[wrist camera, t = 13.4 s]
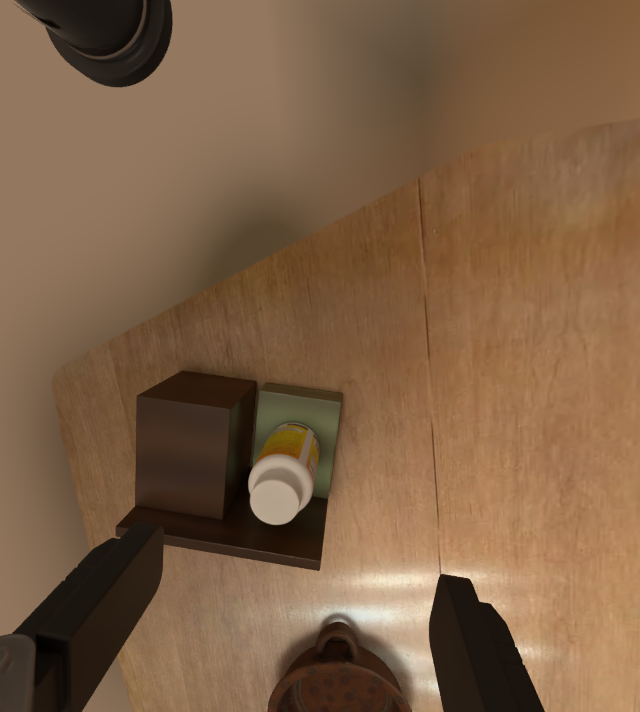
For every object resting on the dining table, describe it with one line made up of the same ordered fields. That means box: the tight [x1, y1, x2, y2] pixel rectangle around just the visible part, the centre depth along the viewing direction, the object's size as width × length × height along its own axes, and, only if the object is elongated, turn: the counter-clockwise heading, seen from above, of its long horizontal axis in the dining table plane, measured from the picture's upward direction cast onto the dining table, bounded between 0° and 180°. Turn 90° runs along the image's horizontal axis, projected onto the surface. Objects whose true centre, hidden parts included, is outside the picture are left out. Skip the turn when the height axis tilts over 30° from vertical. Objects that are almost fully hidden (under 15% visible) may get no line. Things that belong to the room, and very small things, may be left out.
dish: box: [268, 622, 412, 712], centre depth 47 cm, size 18×22×5 cm
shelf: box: [116, 371, 342, 571], centre depth 37 cm, size 12×18×12 cm, turn 83°
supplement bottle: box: [248, 423, 320, 525], centre depth 34 cm, size 6×6×10 cm
